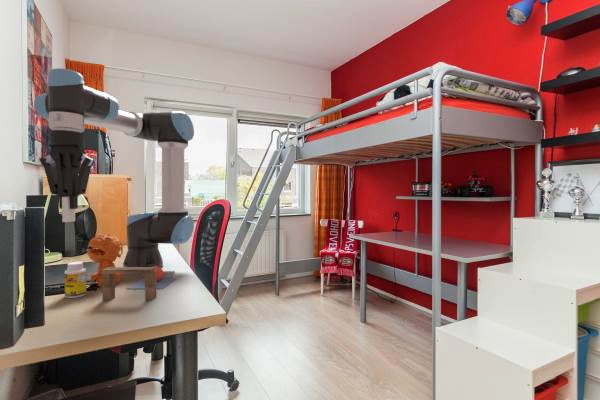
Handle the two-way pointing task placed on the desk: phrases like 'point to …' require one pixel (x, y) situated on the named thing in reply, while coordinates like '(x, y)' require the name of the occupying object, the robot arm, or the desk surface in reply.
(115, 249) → the toy dinosaur
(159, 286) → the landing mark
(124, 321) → the desk surface
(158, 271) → the ball
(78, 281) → the supplement bottle
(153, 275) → the bridge
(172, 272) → the stopper wall
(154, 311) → the desk surface
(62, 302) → the desk surface
